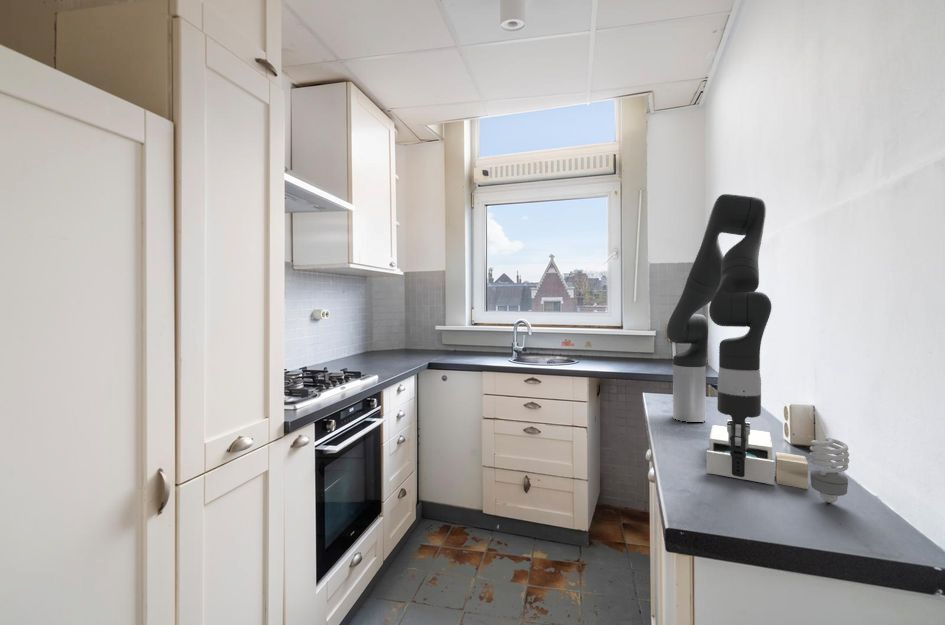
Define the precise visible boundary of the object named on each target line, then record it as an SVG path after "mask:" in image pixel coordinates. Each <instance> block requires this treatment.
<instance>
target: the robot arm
mask: <svg viewBox="0 0 945 625" xmlns="http://www.w3.org/2000/svg"><path fill="white" fill-rule="evenodd" d="M766 214H767V207H766V203H765V201H764V199H762V198H759V197H756V196H755V197H754V196H747V195H738V194H732V193H731V194H729V193H724V194H720V195H719V196H718V197H717V198H716V199H715V201H714V204H713V206H712V209H711V211H710V215H709V217H708V218H709V219H708V222H707V225H706V228H705V232H704V234H703V238H702V240H701V241H702V242H701V245H700V247H699V249H698V252H697V254H696V257H695V259H694V260H693V261H694V262H693V264H692V266H691V269H690V271H689V274H688V276H687V280H686V282H685V286H684V288H683V291H682V293H681V295H680V298H679V300H678V302H677V304H676V306H675V307H674V309H673V312H672V314H671V315H670V317H669V320H668V323H667V328H666V335H667V338H668V340H669V341H670V342H672V343H674V344H685V345H686V344H688V345H690V347H689V348H688V349H686V350H685V351H683V352H680V353H677V354H675V355H674V356H673V357H672V358H673V359H672V369H673V370H672V419H673V420H675V419H676V420H675V421H678V420H680V421H679V422H682V421H686V422H685V423H687V422H703V423H705V422H706V417H707V415H706V410H707V407H706V405H707V404H706V402H707V400H706V399H707V398H706V395H707V394H706V390H707V389H706V388H707V387H706V386H707V383H706V382H707V381H706V377H707V376H706V375H707V374H706V370H707V367H706V365H707V357H708V340H709V323H708V320H707V317H706V316H705V315H703V314H698V313H697V312H698V311H700V310H701V309H702V308H704V307H705V306H706V305H708V304H709V308H708V309H709V310H708V313H709V318H710V319H711V321H712V322H713V323H714V324H715V325H716V326H720V327H731V328H732V327H736V328H737V327H739V328H746V327H747V328H749V329H748V331H747V333H745V334H744V335H741V336H738V337H731V338H730V337H729V338H725V339H723V340H720V342H719V348H718V349H719V350H718V373H717V403H716V404H717V407H716V408H717V412H719V413H720V414H723V415H725V416H730V417H731V420H730V419H727V422H726V423H727V424H726V427H727V432H728V444H729V446H730V447H731V452H730V455H731V457H732V475H734V476H739V477H744V476H745V457H746V452H745V449H747V448H748V436H749V435H750V430H751V423H750V422H746V419H747V418H758V417H760V416H761V415H762V376H761V368H760V367H761V345H762V339H763V336H764V334H765V330H766V326H767V325H768V321H769V319H770V316H771V312H772V301H771V298H769V296H768V295H767V294H766V293H764V292H762V291H757V290H758V288H759V284H760V274H759V273H760V272H759V271H760V269H759V256H760V250H761V244H762V240H763V235H764V234H763V233H764V226H765V220H766ZM720 234H729V235H736V236H737V235H738V236H744V237H743V238H742V239H741V240H739V241H738V242H737V243H736V244H734V245H733V246H732V247H730V248H729V249H728V251H727V252H725V254H723V252H722V250H721V249H722V248H721V245H720V244H721V243H720V239H719V236H720ZM704 421H705V422H704Z"/></svg>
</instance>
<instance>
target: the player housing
mask: <svg viewBox="0 0 945 625" xmlns="http://www.w3.org/2000/svg"><path fill="white" fill-rule="evenodd" d="M710 430H711V431H710V434H709V438H708V439H709V440H708V443H709V445H708V448H709V450H710V451H715V448H716V446H719V447H726V448H731V447H730V446H729V444H728V432H727V426H723V425H714V424H712V428H711V429H710ZM745 450H746V451H753V452H760V453H765V455H766V459H768V460H773V443H772V438H771V432H770V431H763V430H757V429H750V435H749V436H748V448H747V449H745Z"/></svg>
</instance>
